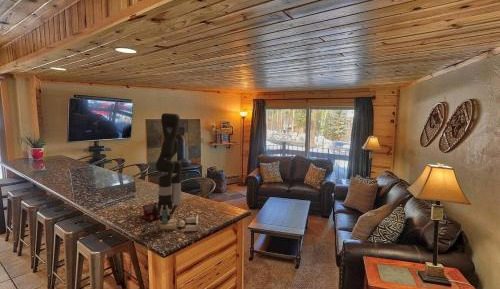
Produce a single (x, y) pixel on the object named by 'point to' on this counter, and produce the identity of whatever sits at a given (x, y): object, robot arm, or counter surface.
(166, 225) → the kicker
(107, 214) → the counter surface
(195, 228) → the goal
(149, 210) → the toy fire truck
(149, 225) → the track
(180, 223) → the ball
